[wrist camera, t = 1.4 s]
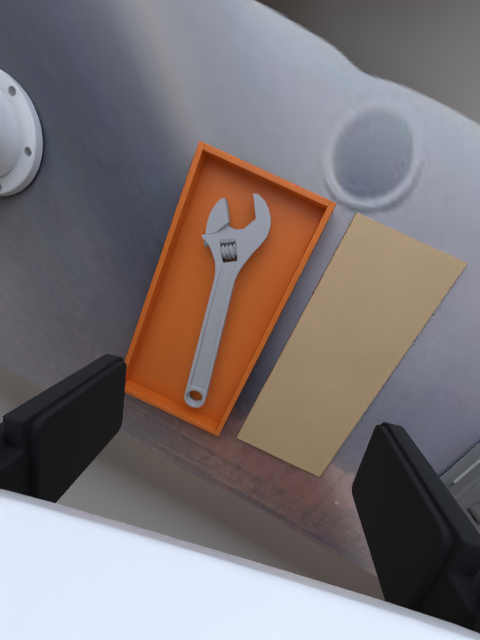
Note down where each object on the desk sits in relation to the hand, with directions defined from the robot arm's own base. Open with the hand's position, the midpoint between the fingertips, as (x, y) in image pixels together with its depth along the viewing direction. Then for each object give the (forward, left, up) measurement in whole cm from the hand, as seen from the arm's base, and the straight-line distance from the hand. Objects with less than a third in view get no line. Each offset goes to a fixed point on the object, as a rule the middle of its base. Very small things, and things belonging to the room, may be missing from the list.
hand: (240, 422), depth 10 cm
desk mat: (+10, -2, -21) cm, 24 cm away
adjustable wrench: (-5, -2, -21) cm, 22 cm away
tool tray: (-5, -2, -21) cm, 22 cm away
